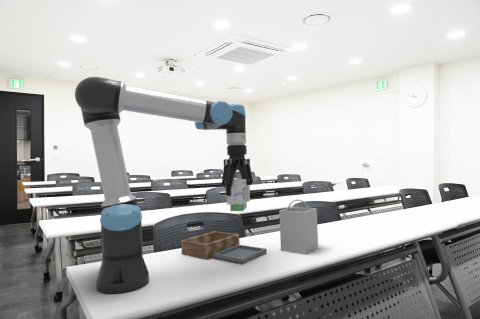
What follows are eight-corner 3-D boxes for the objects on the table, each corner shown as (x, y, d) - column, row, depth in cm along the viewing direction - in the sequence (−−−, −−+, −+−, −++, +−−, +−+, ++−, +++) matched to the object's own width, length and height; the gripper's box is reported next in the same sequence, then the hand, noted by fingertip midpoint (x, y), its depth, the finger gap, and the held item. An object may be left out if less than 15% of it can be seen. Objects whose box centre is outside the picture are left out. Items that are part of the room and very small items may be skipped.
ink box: (234, 208, 129) (233, 178, 129) (247, 208, 128) (246, 178, 128) (229, 211, 120) (228, 179, 121) (243, 211, 119) (242, 179, 120)
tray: (242, 264, 113) (242, 259, 113) (213, 258, 122) (213, 253, 122) (266, 253, 126) (266, 248, 126) (239, 248, 134) (238, 244, 134)
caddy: (306, 254, 123) (304, 212, 123) (280, 250, 130) (279, 210, 130) (318, 247, 132) (316, 208, 132) (293, 244, 139) (292, 207, 139)
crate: (207, 259, 121) (206, 244, 121) (181, 254, 129) (181, 240, 129) (239, 247, 137) (239, 234, 137) (214, 243, 145) (214, 231, 145)
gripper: (225, 143, 113) (228, 207, 113) (260, 144, 131) (262, 200, 131) (210, 144, 118) (212, 206, 118) (245, 146, 136) (247, 199, 135)
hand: (238, 202), depth 124 cm, fingers closed on ink box, 9 cm apart
